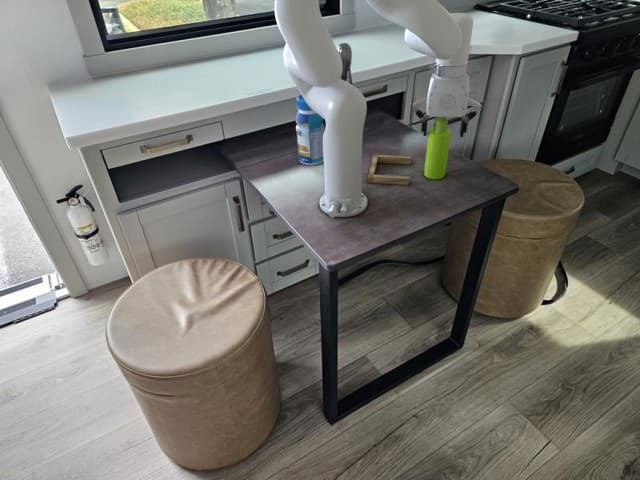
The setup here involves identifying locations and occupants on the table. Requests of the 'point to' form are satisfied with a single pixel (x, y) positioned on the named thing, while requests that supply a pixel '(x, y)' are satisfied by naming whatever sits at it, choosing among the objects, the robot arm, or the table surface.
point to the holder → (388, 178)
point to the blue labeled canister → (309, 134)
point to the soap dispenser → (437, 149)
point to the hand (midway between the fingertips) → (442, 134)
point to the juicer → (345, 61)
